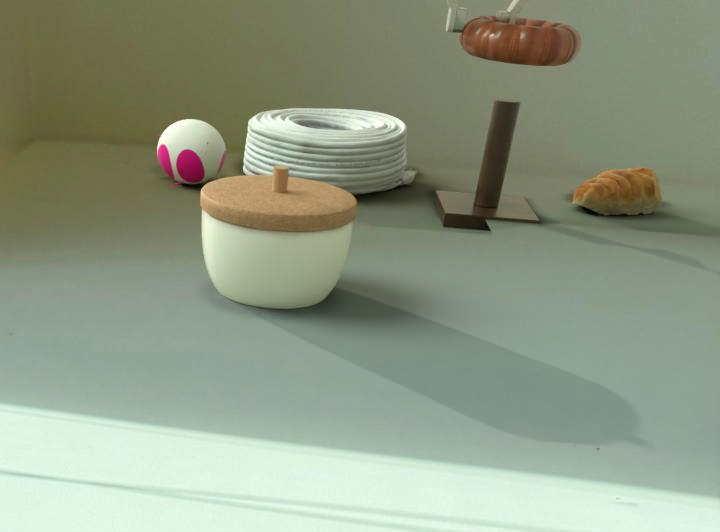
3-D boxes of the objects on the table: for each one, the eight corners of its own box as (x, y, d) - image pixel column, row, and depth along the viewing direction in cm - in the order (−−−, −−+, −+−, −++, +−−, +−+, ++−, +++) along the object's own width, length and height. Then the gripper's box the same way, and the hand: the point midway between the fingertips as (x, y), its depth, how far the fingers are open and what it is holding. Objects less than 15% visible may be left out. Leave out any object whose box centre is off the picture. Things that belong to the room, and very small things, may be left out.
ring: (560, 56, 87) (569, 20, 85) (586, 72, 79) (596, 33, 77) (451, 46, 87) (457, 10, 85) (465, 61, 79) (473, 22, 77)
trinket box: (172, 316, 65) (174, 170, 59) (230, 275, 73) (236, 142, 67) (317, 346, 62) (334, 196, 56) (360, 299, 70) (379, 163, 64)
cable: (424, 179, 102) (435, 118, 99) (368, 212, 90) (377, 143, 86) (283, 155, 108) (288, 96, 104) (212, 182, 96) (214, 116, 92)
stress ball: (152, 212, 97) (126, 160, 92) (191, 156, 99) (167, 101, 93) (209, 224, 94) (185, 171, 88) (248, 166, 95) (227, 110, 90)
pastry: (602, 221, 93) (614, 180, 90) (552, 204, 97) (562, 165, 95) (662, 213, 97) (675, 173, 94) (612, 197, 101) (623, 159, 99)
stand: (520, 209, 95) (547, 95, 88) (536, 233, 88) (567, 112, 81) (433, 202, 95) (453, 88, 88) (442, 226, 88) (465, 104, 81)
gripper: (636, -161, 75) (586, 39, 84) (388, -180, 76) (363, 21, 84) (659, -165, 71) (603, 47, 79) (393, -186, 71) (366, 28, 79)
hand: (477, 34), depth 82 cm, fingers closed on ring, 3 cm apart
